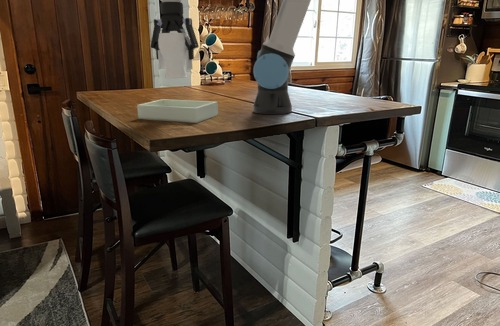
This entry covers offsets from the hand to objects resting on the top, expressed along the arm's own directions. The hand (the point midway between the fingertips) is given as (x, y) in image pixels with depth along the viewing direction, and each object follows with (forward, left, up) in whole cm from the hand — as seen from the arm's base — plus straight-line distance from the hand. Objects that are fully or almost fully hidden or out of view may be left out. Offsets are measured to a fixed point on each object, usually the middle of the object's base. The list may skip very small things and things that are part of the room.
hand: (175, 69), depth 136 cm
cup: (0, 0, -3) cm, 3 cm away
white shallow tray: (0, 0, -17) cm, 17 cm away
